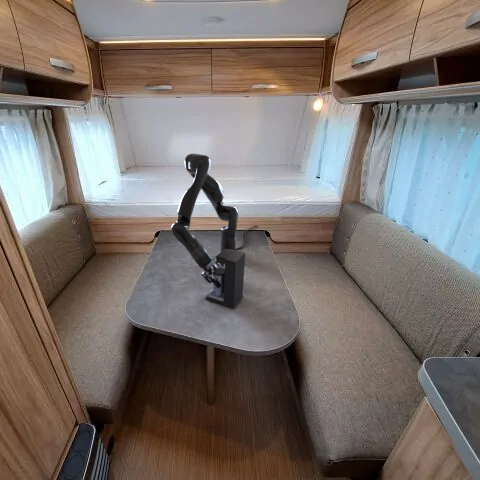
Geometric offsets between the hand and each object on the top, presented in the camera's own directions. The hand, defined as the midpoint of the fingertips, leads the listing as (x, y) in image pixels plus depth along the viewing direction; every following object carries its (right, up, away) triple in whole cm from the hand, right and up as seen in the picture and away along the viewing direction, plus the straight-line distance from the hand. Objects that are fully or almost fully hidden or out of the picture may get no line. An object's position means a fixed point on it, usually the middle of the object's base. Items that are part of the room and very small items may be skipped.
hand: (222, 283), depth 126 cm
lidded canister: (-1, -6, +3) cm, 7 cm away
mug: (-4, +1, +21) cm, 22 cm away
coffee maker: (+1, -7, +3) cm, 8 cm away
